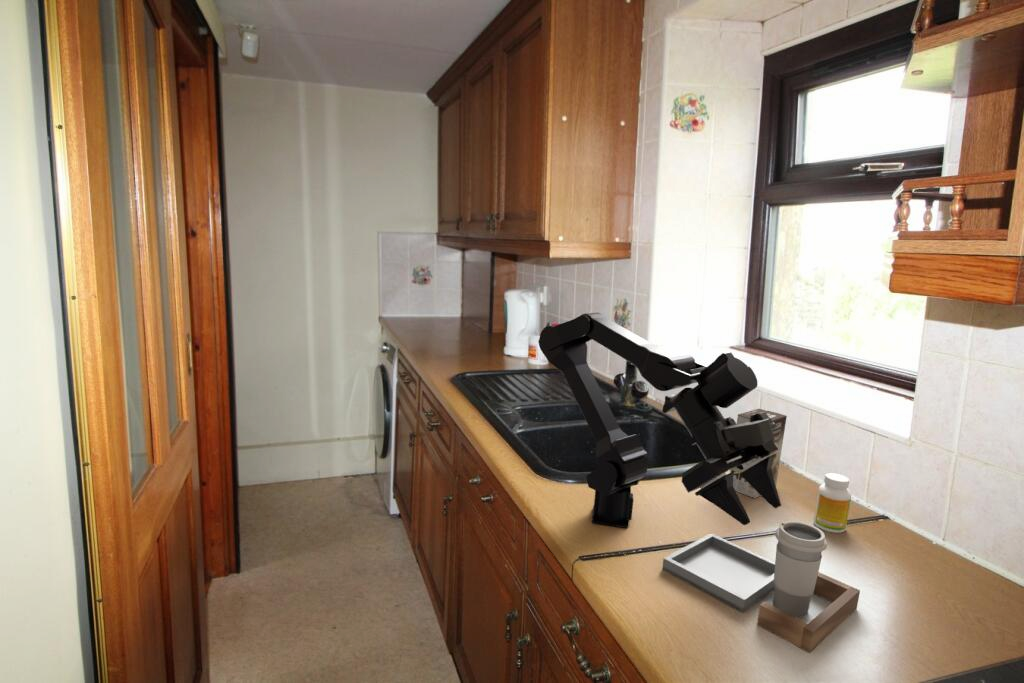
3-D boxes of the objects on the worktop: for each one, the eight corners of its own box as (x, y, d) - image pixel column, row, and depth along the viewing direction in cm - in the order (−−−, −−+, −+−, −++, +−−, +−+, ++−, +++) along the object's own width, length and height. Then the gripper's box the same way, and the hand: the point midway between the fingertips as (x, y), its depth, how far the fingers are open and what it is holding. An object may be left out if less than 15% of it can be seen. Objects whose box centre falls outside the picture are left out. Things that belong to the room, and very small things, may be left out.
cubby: (757, 624, 87) (759, 604, 86) (806, 586, 97) (809, 568, 96) (809, 652, 81) (813, 632, 81) (856, 609, 91) (860, 590, 91)
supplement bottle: (849, 535, 114) (858, 485, 112) (817, 531, 115) (825, 481, 113) (840, 522, 119) (848, 473, 117) (810, 517, 120) (817, 469, 118)
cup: (774, 587, 96) (785, 514, 93) (821, 606, 92) (834, 530, 89) (758, 608, 90) (769, 531, 88) (807, 629, 86) (821, 548, 84)
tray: (662, 569, 99) (663, 558, 99) (709, 543, 108) (710, 533, 107) (742, 612, 89) (744, 599, 89) (787, 580, 98) (789, 568, 98)
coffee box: (756, 499, 127) (766, 423, 124) (726, 488, 131) (736, 414, 128) (776, 488, 133) (787, 415, 130) (748, 478, 137) (757, 407, 134)
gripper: (709, 406, 87) (775, 510, 81) (773, 388, 100) (835, 477, 94) (656, 443, 95) (714, 541, 89) (722, 422, 107) (777, 507, 101)
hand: (763, 515), depth 93 cm, fingers open, 9 cm apart
